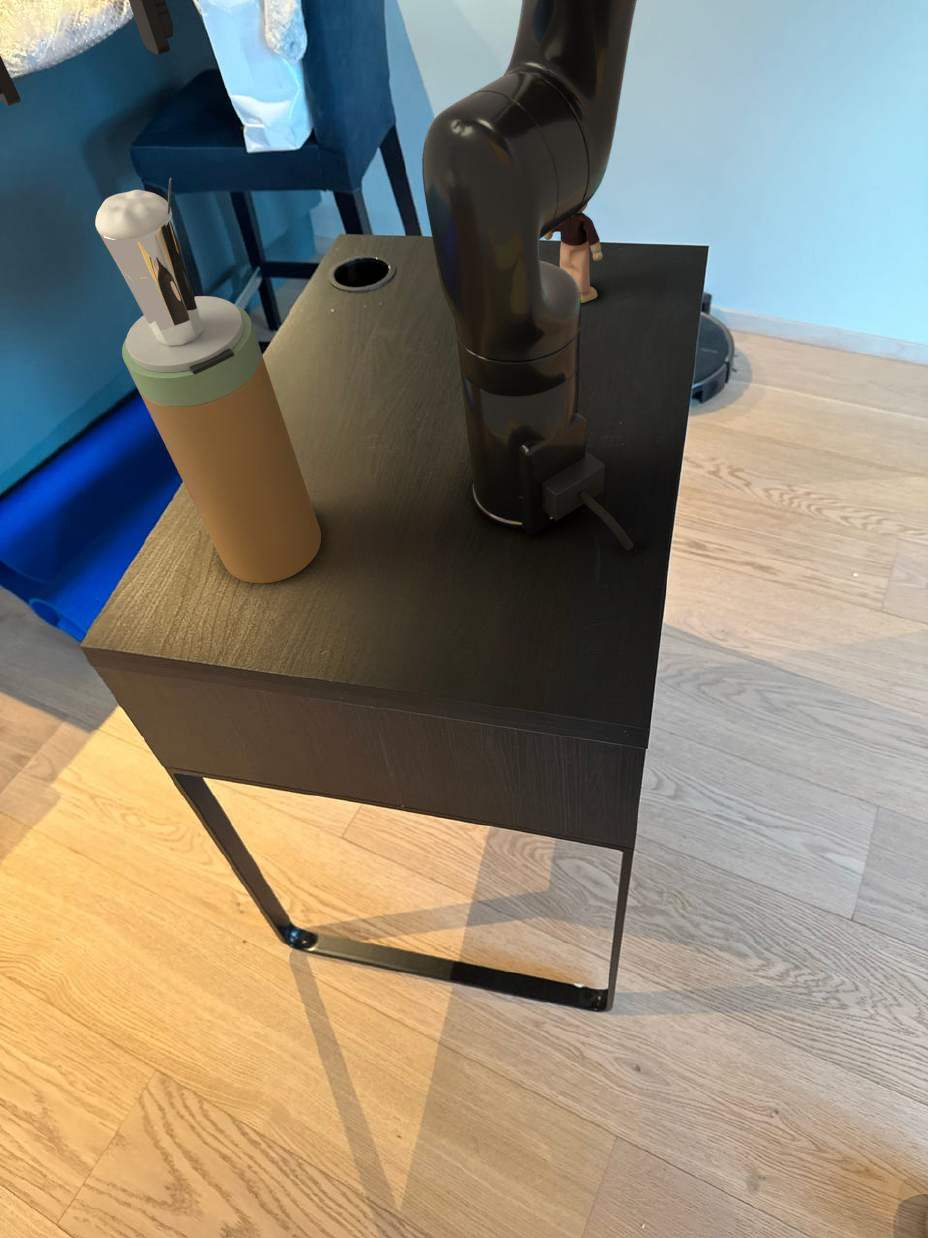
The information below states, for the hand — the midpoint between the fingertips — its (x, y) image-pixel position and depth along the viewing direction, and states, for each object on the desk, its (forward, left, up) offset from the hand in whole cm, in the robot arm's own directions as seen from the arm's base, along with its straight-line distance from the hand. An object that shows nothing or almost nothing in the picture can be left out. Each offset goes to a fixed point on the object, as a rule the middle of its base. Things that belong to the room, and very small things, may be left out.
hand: (86, 74), depth 45 cm
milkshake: (-1, 0, -16) cm, 16 cm away
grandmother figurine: (+11, -45, -38) cm, 59 cm away
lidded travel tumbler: (0, 0, -37) cm, 37 cm away
